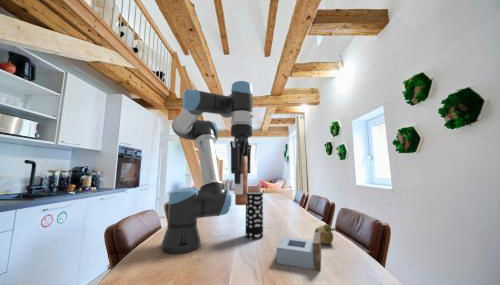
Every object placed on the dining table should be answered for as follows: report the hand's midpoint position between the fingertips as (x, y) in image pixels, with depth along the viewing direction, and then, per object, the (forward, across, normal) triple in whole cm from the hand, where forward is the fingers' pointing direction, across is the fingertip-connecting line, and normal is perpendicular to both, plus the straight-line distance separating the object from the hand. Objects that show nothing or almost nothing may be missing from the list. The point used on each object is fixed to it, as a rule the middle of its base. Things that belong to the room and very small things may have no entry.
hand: (241, 193), depth 68 cm
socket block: (+23, +13, -16) cm, 31 cm away
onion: (+24, +33, -25) cm, 48 cm away
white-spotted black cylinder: (+24, +30, +6) cm, 39 cm away
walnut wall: (+23, +13, -23) cm, 35 cm away
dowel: (+4, 0, 0) cm, 4 cm away
